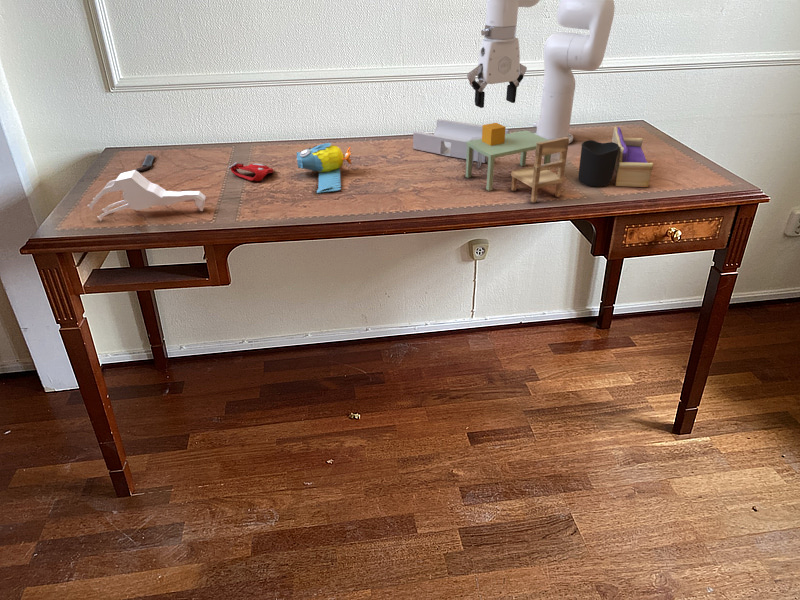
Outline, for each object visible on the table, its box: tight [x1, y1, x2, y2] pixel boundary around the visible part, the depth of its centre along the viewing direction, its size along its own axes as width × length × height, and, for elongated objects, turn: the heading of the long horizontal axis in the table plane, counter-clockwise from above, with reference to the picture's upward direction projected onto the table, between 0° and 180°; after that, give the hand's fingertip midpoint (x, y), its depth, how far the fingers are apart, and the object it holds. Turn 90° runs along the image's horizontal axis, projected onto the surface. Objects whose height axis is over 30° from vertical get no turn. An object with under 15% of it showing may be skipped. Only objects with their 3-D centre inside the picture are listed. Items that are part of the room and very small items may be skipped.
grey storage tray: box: [412, 118, 510, 169], centre depth 184 cm, size 25×21×8 cm
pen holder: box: [577, 139, 619, 188], centre depth 161 cm, size 9×9×10 cm
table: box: [465, 129, 552, 192], centre depth 165 cm, size 12×20×10 cm, turn 117°
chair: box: [510, 137, 570, 204], centre depth 154 cm, size 10×9×15 cm
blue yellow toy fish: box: [296, 142, 352, 194], centre depth 170 cm, size 28×9×15 cm
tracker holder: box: [228, 161, 274, 182], centre depth 170 cm, size 12×4×10 cm
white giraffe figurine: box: [87, 169, 207, 222], centre depth 149 cm, size 5×16×25 cm
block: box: [482, 122, 506, 146], centre depth 161 cm, size 4×4×4 cm
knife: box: [135, 153, 155, 173], centre depth 181 cm, size 14×4×1 cm, turn 11°
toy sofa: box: [611, 126, 654, 188], centre depth 166 cm, size 21×9×10 cm, turn 169°
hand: (495, 104), depth 156 cm, fingers open, 9 cm apart
